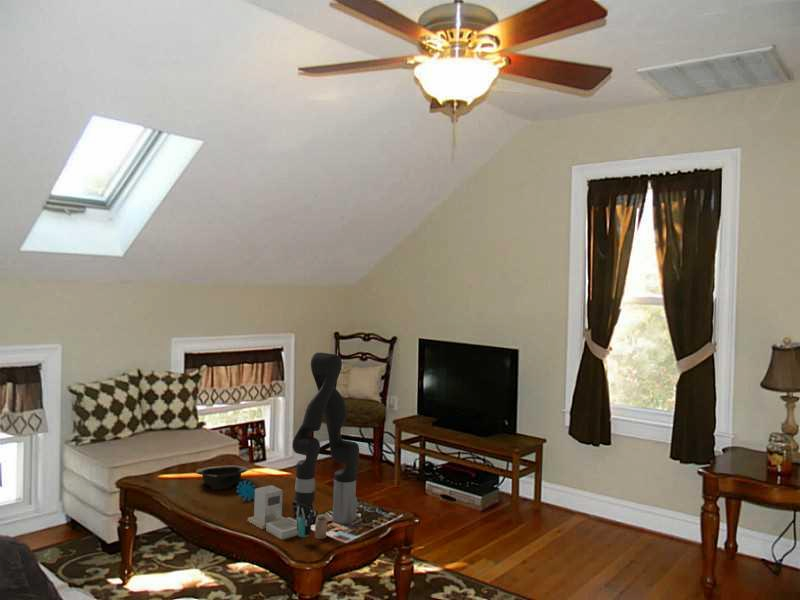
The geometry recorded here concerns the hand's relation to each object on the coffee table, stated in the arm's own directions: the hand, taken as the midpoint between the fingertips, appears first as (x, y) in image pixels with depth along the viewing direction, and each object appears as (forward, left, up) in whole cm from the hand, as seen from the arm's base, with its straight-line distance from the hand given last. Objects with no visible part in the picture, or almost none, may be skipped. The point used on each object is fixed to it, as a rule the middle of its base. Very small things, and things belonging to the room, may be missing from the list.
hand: (303, 532), depth 250 cm
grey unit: (-1, -26, -4) cm, 26 cm away
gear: (-9, -55, -4) cm, 56 cm away
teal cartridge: (0, 0, -1) cm, 1 cm away
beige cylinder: (-9, -1, -4) cm, 10 cm away
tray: (-1, -13, -4) cm, 13 cm away
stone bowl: (-10, -80, -4) cm, 80 cm away
